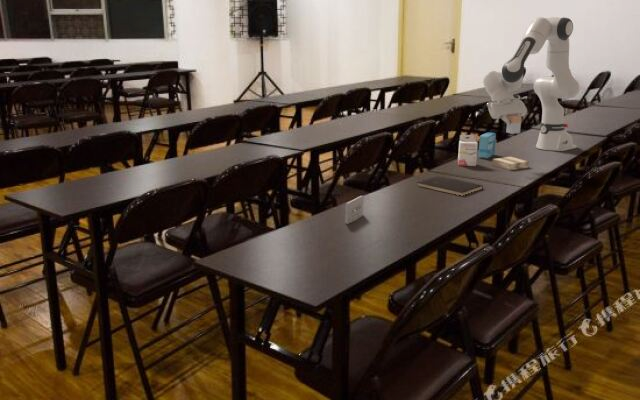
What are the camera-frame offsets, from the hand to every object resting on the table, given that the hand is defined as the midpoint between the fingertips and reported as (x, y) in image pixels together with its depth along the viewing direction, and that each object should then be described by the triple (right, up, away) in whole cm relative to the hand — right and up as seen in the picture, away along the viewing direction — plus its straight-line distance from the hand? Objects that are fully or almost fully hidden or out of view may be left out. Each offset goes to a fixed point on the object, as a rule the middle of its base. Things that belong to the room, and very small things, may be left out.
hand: (514, 123), depth 282 cm
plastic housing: (0, -4, +2) cm, 5 cm away
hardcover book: (-37, -32, -27) cm, 56 cm away
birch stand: (0, -20, +7) cm, 21 cm away
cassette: (-81, -44, -66) cm, 114 cm away
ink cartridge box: (-20, -20, +11) cm, 30 cm away
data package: (-6, -14, +28) cm, 32 cm away
